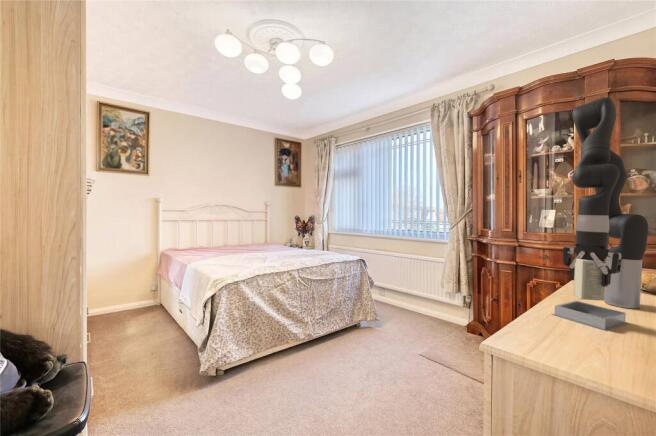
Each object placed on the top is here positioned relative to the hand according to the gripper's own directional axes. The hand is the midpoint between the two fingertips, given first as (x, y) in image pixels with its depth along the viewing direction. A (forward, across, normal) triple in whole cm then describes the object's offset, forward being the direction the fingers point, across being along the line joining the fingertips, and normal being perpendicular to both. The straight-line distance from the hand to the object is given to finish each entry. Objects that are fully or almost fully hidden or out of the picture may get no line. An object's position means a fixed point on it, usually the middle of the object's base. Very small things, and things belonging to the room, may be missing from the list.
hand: (589, 283), depth 91 cm
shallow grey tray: (+11, 0, 0) cm, 11 cm away
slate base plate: (+12, 0, 0) cm, 12 cm away
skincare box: (+5, 0, 0) cm, 5 cm away
